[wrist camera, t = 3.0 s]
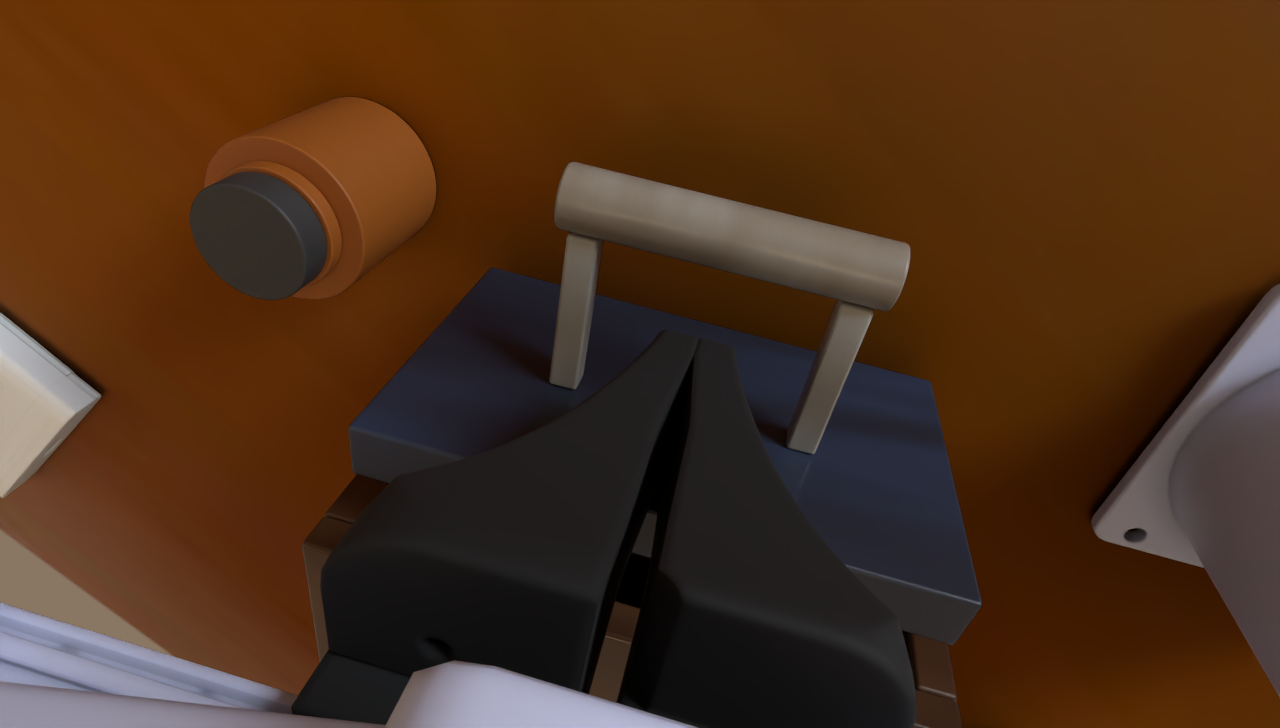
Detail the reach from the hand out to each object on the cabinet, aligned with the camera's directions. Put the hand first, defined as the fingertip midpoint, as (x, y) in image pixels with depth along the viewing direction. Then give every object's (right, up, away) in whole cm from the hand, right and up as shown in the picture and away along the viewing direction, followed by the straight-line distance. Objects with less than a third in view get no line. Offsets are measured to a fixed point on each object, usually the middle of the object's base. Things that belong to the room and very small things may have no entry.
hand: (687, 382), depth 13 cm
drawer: (0, -2, +7) cm, 7 cm away
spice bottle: (-8, +5, +6) cm, 11 cm away
